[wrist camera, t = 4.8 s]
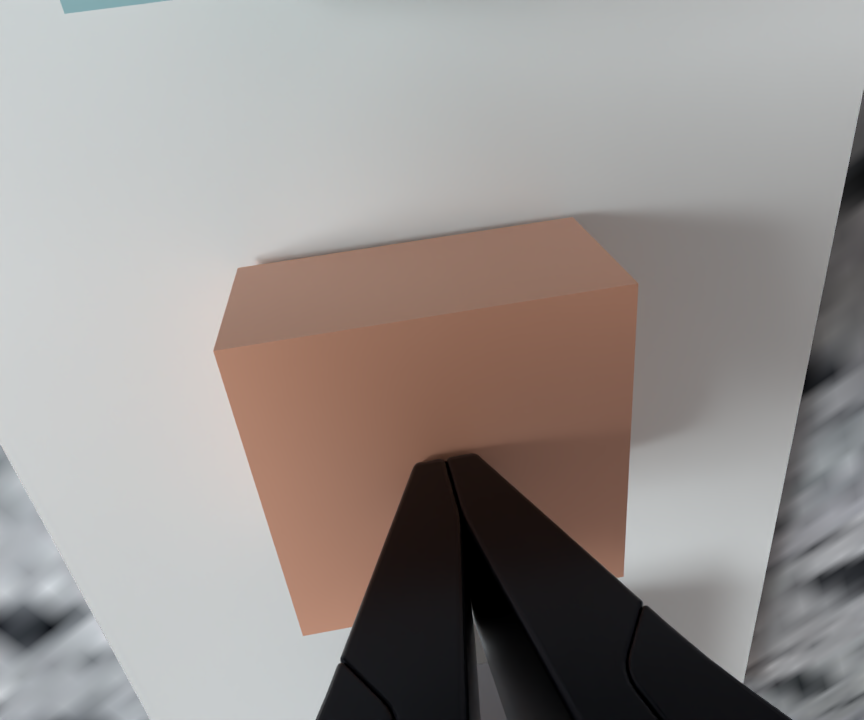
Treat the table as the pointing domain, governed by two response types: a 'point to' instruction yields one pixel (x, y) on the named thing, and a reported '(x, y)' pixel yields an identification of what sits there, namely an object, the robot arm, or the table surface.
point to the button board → (391, 224)
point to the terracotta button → (429, 391)
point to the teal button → (99, 4)
